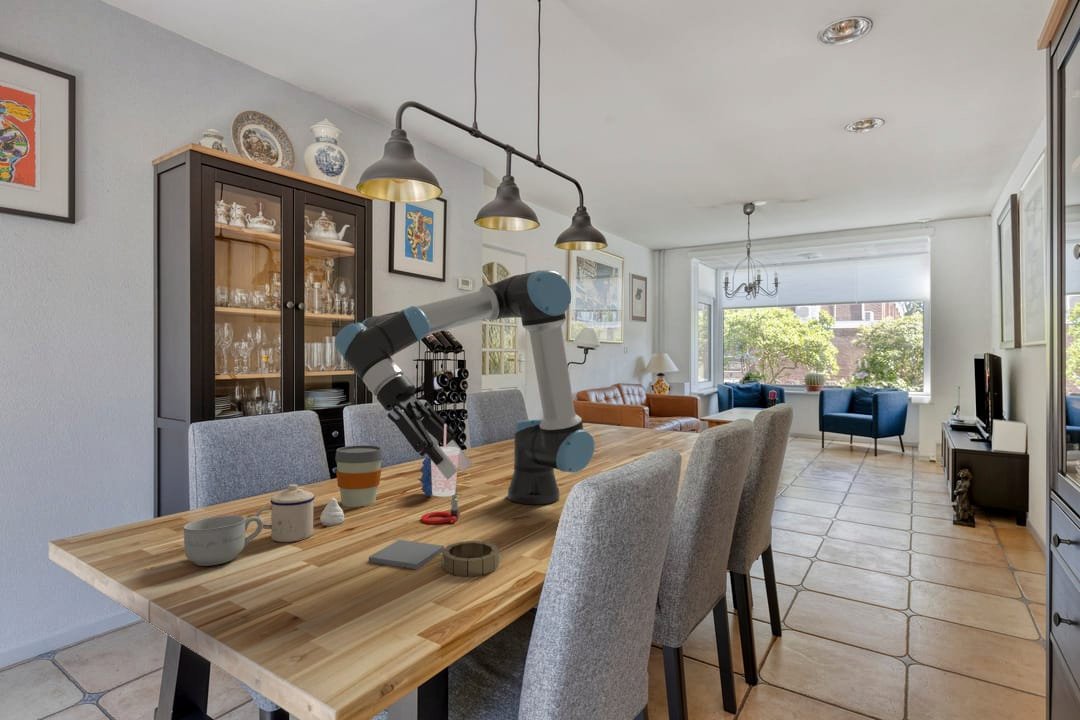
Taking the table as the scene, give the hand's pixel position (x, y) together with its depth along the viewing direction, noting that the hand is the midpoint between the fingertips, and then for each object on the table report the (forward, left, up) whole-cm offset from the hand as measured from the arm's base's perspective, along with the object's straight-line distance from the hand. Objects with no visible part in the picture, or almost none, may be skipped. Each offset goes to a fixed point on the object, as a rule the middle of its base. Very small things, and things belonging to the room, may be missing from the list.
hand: (460, 471), depth 109 cm
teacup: (+32, -35, -19) cm, 51 cm away
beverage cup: (+2, -3, -5) cm, 6 cm away
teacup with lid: (+18, -40, -19) cm, 48 cm away
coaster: (+5, -11, -19) cm, 22 cm away
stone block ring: (-1, +2, -19) cm, 19 cm away
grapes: (-27, -47, -19) cm, 57 cm away
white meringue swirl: (+5, -43, -19) cm, 47 cm away
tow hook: (-15, -27, -19) cm, 36 cm away
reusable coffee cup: (-8, -55, -19) cm, 59 cm away
